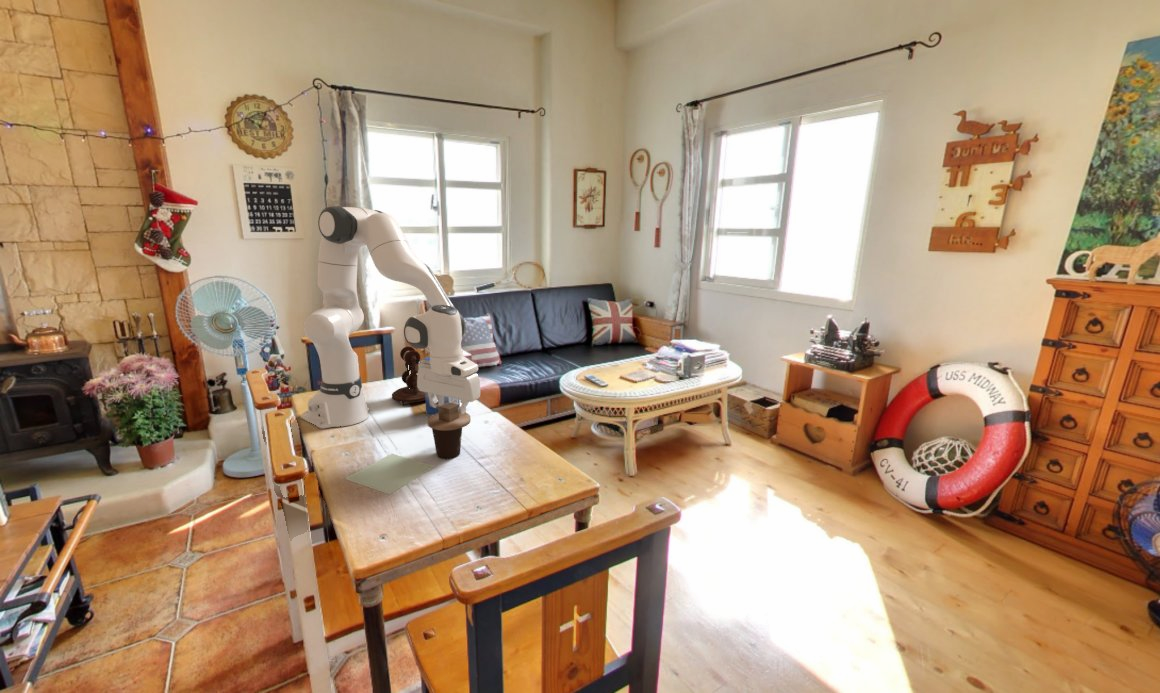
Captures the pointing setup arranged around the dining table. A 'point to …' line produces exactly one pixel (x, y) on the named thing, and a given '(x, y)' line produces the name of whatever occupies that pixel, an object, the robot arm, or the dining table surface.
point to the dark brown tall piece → (409, 378)
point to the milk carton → (440, 398)
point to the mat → (389, 473)
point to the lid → (448, 418)
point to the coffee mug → (447, 443)
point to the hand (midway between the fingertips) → (448, 410)
